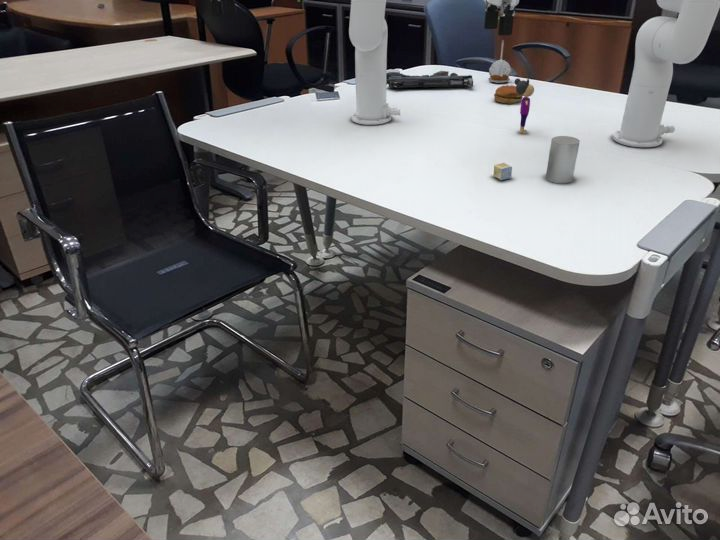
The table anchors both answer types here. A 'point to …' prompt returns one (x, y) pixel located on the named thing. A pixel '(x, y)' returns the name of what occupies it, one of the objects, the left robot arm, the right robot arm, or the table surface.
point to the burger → (507, 94)
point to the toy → (524, 100)
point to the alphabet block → (502, 171)
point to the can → (562, 159)
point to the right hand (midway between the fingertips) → (497, 31)
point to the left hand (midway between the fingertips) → (224, 13)
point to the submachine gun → (428, 80)
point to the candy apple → (500, 70)
